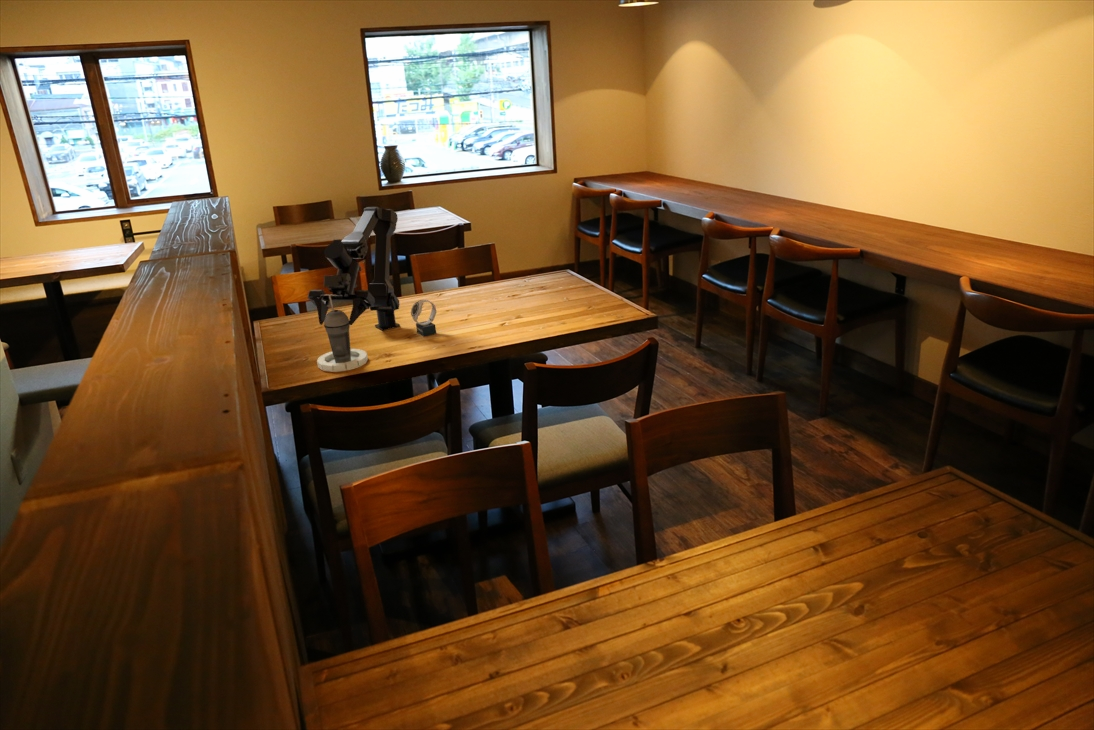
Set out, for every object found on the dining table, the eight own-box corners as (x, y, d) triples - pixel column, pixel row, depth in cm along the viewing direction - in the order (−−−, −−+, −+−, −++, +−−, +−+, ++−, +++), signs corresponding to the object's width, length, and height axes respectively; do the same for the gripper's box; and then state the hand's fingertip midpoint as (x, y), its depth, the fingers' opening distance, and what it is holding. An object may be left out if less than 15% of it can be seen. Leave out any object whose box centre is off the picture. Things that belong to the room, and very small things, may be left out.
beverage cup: (341, 367, 213) (330, 300, 205) (325, 363, 217) (313, 297, 209) (360, 359, 218) (350, 293, 211) (344, 355, 222) (334, 291, 215)
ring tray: (311, 362, 219) (310, 357, 218) (355, 350, 226) (354, 345, 226) (329, 375, 208) (328, 369, 208) (375, 362, 216) (374, 356, 215)
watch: (411, 333, 239) (407, 301, 235) (434, 328, 243) (430, 296, 239) (418, 338, 235) (414, 305, 231) (441, 332, 239) (437, 300, 235)
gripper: (304, 263, 213) (292, 311, 207) (365, 262, 209) (353, 311, 203) (322, 282, 223) (310, 328, 217) (379, 282, 219) (369, 329, 213)
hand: (335, 324), depth 212 cm, fingers open, 9 cm apart
